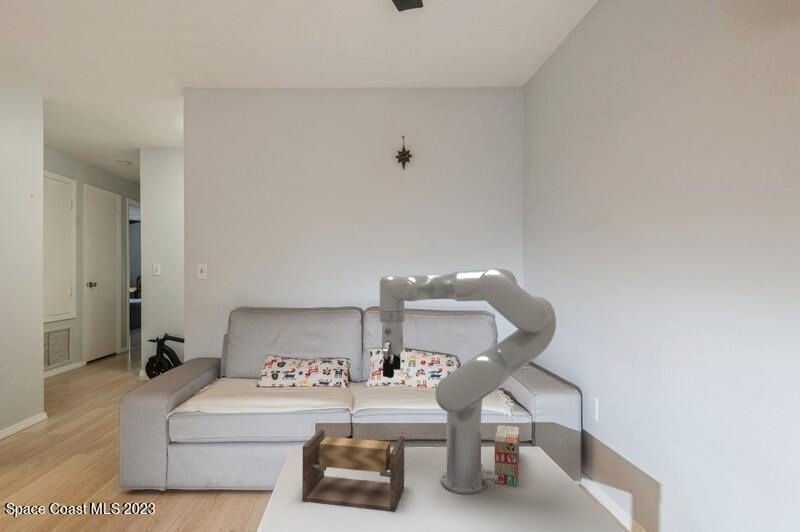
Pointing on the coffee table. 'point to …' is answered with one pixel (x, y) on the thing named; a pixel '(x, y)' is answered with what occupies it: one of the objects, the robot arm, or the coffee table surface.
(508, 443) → the stack of blocks
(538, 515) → the coffee table surface
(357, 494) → the shelf frame
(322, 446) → the shelf board
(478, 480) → the robot arm
